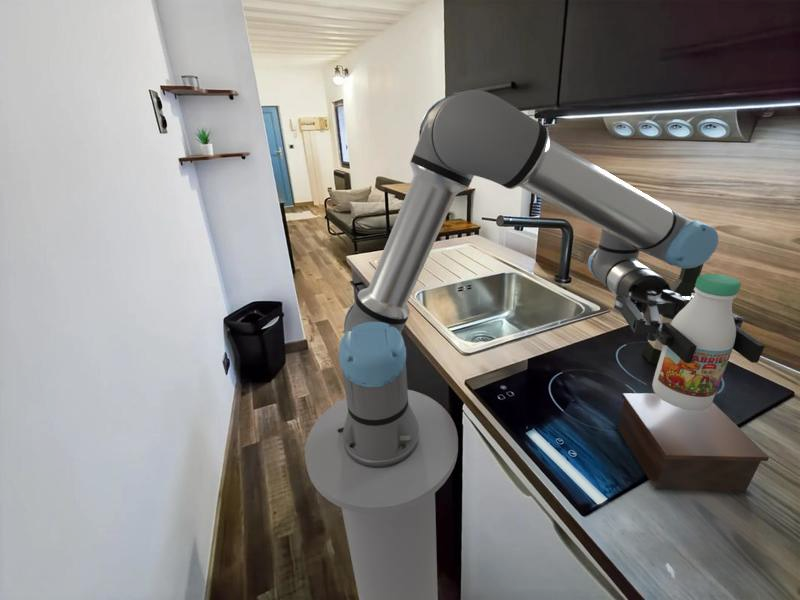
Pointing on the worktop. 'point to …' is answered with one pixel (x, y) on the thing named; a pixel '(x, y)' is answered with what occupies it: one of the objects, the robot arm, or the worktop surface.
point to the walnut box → (688, 445)
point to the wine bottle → (683, 288)
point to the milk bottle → (700, 345)
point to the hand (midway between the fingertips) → (724, 354)
